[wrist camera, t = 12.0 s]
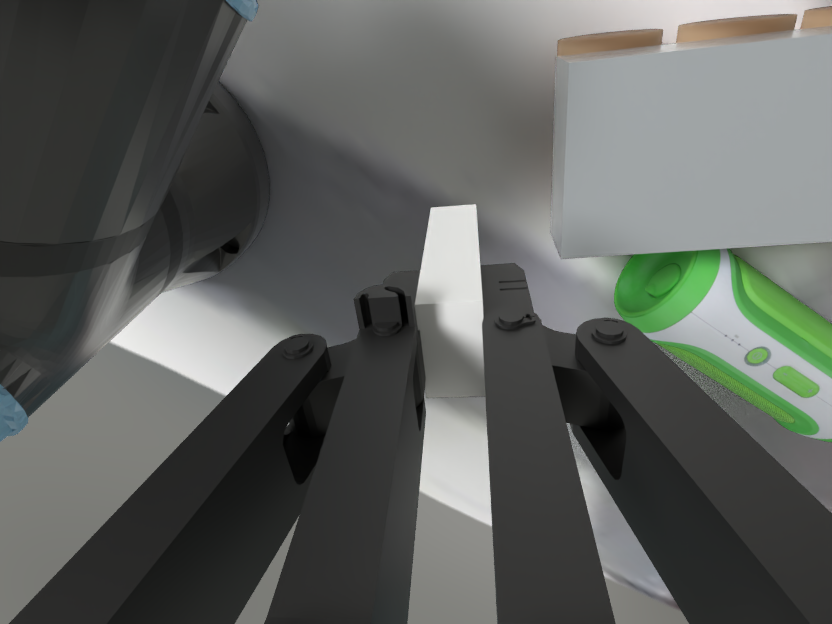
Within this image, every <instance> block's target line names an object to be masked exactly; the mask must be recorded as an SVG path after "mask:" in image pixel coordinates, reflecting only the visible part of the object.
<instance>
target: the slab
mask: <svg viewBox="0 0 832 624" xmlns="http://www.w3.org/2000/svg"><path fill="white" fill-rule="evenodd" d="M550 233H551V236H552V238H553V241H554V243H555V246H556V248H557V251H558V253H559V256H560V258H561V259H569V258H584V257H600V256H616V255H632V254H648V253H663V252H679V251H695V250H711V249H726V248H742V247H758V246H774V245H790V244H805V243H821V242H832V26H824V27H815V28H806V29H797V30H788V31H779V32H770V33H762V34H753V35H744V36H735V37H726V38H717V39H708V40H699V41H690V42H681V43H672V44H664V45H655V46H646V47H637V48H628V49H619V50H610V51H601V52H592V53H583V54H574V55H566V56H557V57H556V65H555V98H554V131H553V164H552V198H551V231H550Z"/></svg>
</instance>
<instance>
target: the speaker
mask: <svg viewBox="0 0 832 624" xmlns="http://www.w3.org/2000/svg"><path fill="white" fill-rule="evenodd" d="M614 303H615V307H616V310H617V311H618V313H619V314H620V315H621V317H622V318H623V319H624V320H625V321H626V322H628V323H630V324H632V325H633V326H635V327H636V328H638V329H639V330H640V331H641V332H642V333H643V334H644V335H645V336H647V337H648V338H649V339H650V340H651V341H652V342H655V343H657V344H658V345H660V346H661V347H663V348H664V349H666V350H668V351H669V352H671V353H672V354H674V355H675V356H677V357H678V358H680V359H682V360H683V361H685V362H686V363H688V364H689V365H691V366H693V367H694V368H696V369H697V370H699V371H700V372H702V373H704V374H705V375H707V376H708V377H710V378H712V379H713V380H715V381H717V382H718V383H720V384H721V385H723V386H724V387H726V388H728V389H729V390H731V391H732V392H734V393H735V394H737V395H739V396H740V397H742V398H743V399H745V400H746V401H748V402H750V403H751V404H753V405H754V406H756V407H758V408H759V409H761V410H762V411H764V412H765V413H767V414H769V415H770V416H772V417H773V418H774V419H775V420H776V421H777V422H778V423H779V424H780V425H782V426H783V427H785V428H786V429H788V430H790V431H793V432H795V433H798V434H800V435H803V436H806V437H810V438H814V439H818V440H822V441H827V442H832V324H831V323H830V322H828V321H827V320H825V319H824V318H823V317H821V316H820V315H818V314H817V313H816V312H814V311H813V310H811V309H810V308H808V307H807V306H806V305H804V304H803V303H801V302H800V301H798V300H797V299H796V298H794V297H793V296H792V295H790V294H789V293H788V292H786V291H785V290H783V289H782V288H781V287H779V286H778V285H776V284H775V283H774V282H772V281H771V280H770V279H768V278H767V277H765V276H764V275H763V274H761V273H760V272H759V271H757V270H756V269H754V268H753V267H752V266H750V265H749V264H748V263H746V262H745V261H744V260H742V259H741V258H739V257H738V256H737V255H734V254H732V252H731V250H730V249H729V248H726V249H711V250H695V251H679V252H663V253H648V254H634V255H633V256H632V257H631V259H630V260H629V261H628V263H627V264H626V266H625V267H624V269H623V271H622V272H621V274H620V277H619V279H618V281H617V284H616V287H615V293H614Z"/></svg>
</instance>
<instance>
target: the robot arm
mask: <svg viewBox="0 0 832 624" xmlns="http://www.w3.org/2000/svg"><path fill="white" fill-rule="evenodd" d="M257 10H258V3H257V0H0V442H1V441H2V440H3V439H5V438H6V437H7V436H14V435H16V434H18V433H19V432H20V431H21V430H22V429H23V428H24V427H25V426H26V424H27V423H28V417H29V416H30V415H32V413H34V412H35V411H36V410H37V409H38V408H39V407H40V406H41V405H42V404H43V403H44V402H45V401H46V400H48V399H49V398H50V397H51V396H52V395H53V394H54V393H55V392H56V391H57V390H58V389H59V388H60V387H61V386H63V385H64V384H65V383H66V382H67V381H68V380H69V379H70V378H71V377H72V376H73V375H74V374H75V373H76V372H78V371H79V370H80V369H81V367H83V366H84V365H85V364H86V363H87V362H88V361H89V360H90V359H91V358H92V357H94V355H96V354H97V353H98V352H99V351H100V350H101V349H102V348H103V347H104V346H105V345H106V344H107V343H108V342H110V341H111V340H112V339H113V338H114V337H115V336H116V335H117V334H118V333H119V332H120V331H121V330H122V329H123V328H124V327H126V326H127V325H128V324H129V323H130V322H131V321H132V320H133V319H134V318H135V317H136V316H137V315H138V314H139V313H140V312H142V311H143V310H144V309H145V308H146V307H147V306H148V305H149V304H150V303H151V302H152V301H153V300H154V299H155V298H156V297H157V296H158V295H159V294H161V293H162V292H166V291H169V290H172V289H176V288H179V287H182V286H185V285H189V284H192V283H195V282H198V281H202V280H205V279H207V278H210V277H212V276H214V275H216V274H218V273H220V272H221V271H223V270H225V269H226V268H228V267H229V266H230V265H232V264H233V263H234V262H235V261H236V260H237V259H238V258H239V257H240V256H241V255H242V254H243V253H244V252H245V251H246V249H247V248H248V247H249V246H250V245H251V244H252V243H253V241H254V240H255V238H256V237H257V235H258V234H259V232H260V230H261V228H262V226H263V223H264V220H265V218H266V214H267V210H268V204H269V194H270V184H269V174H268V168H267V163H266V159H265V155H264V152H263V149H262V146H261V143H260V141H259V139H258V136H257V134H256V132H255V130H254V128H253V126H252V124H251V123H250V121H249V119H248V118H247V116H246V114H245V113H244V111H243V110H242V109H241V107H240V106H239V105H238V103H237V102H236V101H235V99H234V98H233V97H232V96H231V95H230V94H229V92H228V91H227V90H226V89H225V88H224V87H223V86H222V85H221V84H220V83H219V82H218V80H219V78H220V76H221V74H222V72H223V70H224V68H225V66H226V63H227V61H228V59H229V57H230V55H231V53H232V51H233V49H234V47H235V44H236V42H237V40H238V38H239V36H240V34H241V32H242V30H243V27H244V25H245V23H246V21H247V20H249V21H253V19H254V17H255V16H256V13H257ZM354 303H355V308H356V313H357V319H358V324H359V329H360V330H359V333H358V336H357V339H355V340H353V341H351V342H348V343H345V344H341V345H337V346H333V347H328V348H327V344H326V340H325V339H323V338H322V337H321V336H318V335H314V334H299V335H294V336H291V337H289V338H287V339H285V340H282V341H281V342H279V343H278V344H277V345H275V346H274V347H273V348H272V349H271V350H270V351H269V352H268V353H267V354H266V355H265V356H264V357H263V358H262V359H261V360H260V362H259V363H258V364H257V365H256V366H255V367H254V368H253V369H252V370H251V371H250V372H249V373H248V374H247V375H246V376H245V377H244V378H243V379H242V380H241V381H240V382H239V383H238V385H237V386H236V387H235V388H234V389H233V390H232V391H231V392H230V393H229V394H228V395H227V396H226V397H225V398H224V399H223V400H222V401H221V402H220V403H219V404H218V405H217V406H216V408H215V409H214V410H213V411H212V412H211V413H210V414H209V415H208V416H207V417H206V418H205V419H204V420H203V421H202V422H201V423H200V424H199V425H198V426H197V427H196V429H194V431H193V432H192V433H191V434H190V435H189V436H188V437H187V438H186V439H185V440H184V441H183V442H182V443H181V444H180V445H179V446H178V447H177V448H176V449H175V450H174V452H173V453H172V454H171V455H170V456H169V457H168V458H167V459H166V460H165V461H164V462H163V463H162V464H161V465H160V466H159V467H158V468H157V469H156V470H155V471H154V472H153V473H152V474H151V476H150V477H149V478H148V479H147V480H146V481H145V482H144V483H143V484H142V485H141V486H140V487H139V488H138V489H137V490H136V491H135V492H134V493H133V494H132V495H131V496H130V498H129V499H128V500H127V501H126V502H125V503H124V504H123V505H122V506H121V507H120V508H119V509H118V510H117V511H116V512H115V513H114V514H113V515H112V516H111V518H109V519H108V521H107V522H106V523H105V524H104V525H103V526H102V527H101V528H100V529H99V530H98V531H97V532H96V533H95V534H94V535H93V536H92V537H91V538H90V540H88V541H87V542H86V544H85V545H84V546H83V547H82V548H81V549H80V550H79V551H78V552H77V553H76V554H75V555H74V556H73V557H72V558H71V559H70V560H69V561H68V562H67V563H66V564H65V565H64V567H63V568H62V569H61V570H60V571H59V572H58V573H57V574H56V575H55V576H54V577H53V578H52V579H51V580H50V581H49V582H48V583H47V584H46V585H45V587H44V588H42V590H41V591H40V592H39V593H38V594H37V595H36V596H35V597H34V598H33V599H32V600H31V601H30V602H29V603H28V604H27V605H26V606H25V607H24V608H23V609H22V611H20V612H19V614H18V615H17V616H16V617H15V618H14V619H13V620H12V621H11V622H10V623H9V624H235V622H236V620H237V619H238V617H239V615H240V613H241V612H242V610H243V609H244V607H245V605H246V603H247V602H248V600H249V598H250V597H251V595H252V593H253V592H254V590H255V588H256V587H257V585H258V583H259V582H260V580H261V578H262V577H263V575H264V573H265V572H266V570H267V568H268V567H269V565H270V563H271V561H272V560H273V558H274V557H275V555H276V553H277V552H278V550H279V548H280V546H281V545H282V543H283V541H284V540H285V538H286V536H287V535H288V533H289V531H290V530H291V528H292V526H293V524H294V523H295V521H296V520H297V518H298V516H299V515H300V516H299V519H298V522H297V525H296V529H295V531H294V535H293V538H292V541H291V544H290V547H289V550H288V553H287V556H286V560H285V563H284V566H283V569H282V572H281V575H280V578H279V581H278V584H277V588H276V590H275V594H274V597H273V600H272V603H271V606H270V609H269V612H268V615H267V618H266V620H265V623H264V624H407V621H408V609H409V598H410V587H411V574H412V564H413V553H414V541H415V530H416V519H417V508H418V496H419V485H420V474H421V462H422V451H423V440H424V428H425V417H426V409H425V401H424V390H426V398H452V397H486V416H487V435H488V454H489V473H490V492H491V511H492V530H493V548H494V566H495V587H496V604H497V605H496V606H497V624H615V619H614V615H613V611H612V608H611V603H610V599H609V595H608V591H607V587H606V583H605V579H604V575H603V571H602V567H601V563H600V559H599V555H598V550H597V546H596V542H595V538H594V534H593V530H592V526H591V522H590V518H589V514H588V510H587V506H586V502H585V498H584V494H583V490H582V485H581V481H580V477H579V473H578V469H577V465H576V461H575V457H574V453H573V449H572V445H571V441H570V437H569V433H568V429H567V425H566V423H570V426H571V429H572V432H573V434H574V436H575V437H576V439H577V441H578V442H579V444H580V446H581V447H582V449H583V451H584V452H585V454H586V455H587V457H588V459H589V460H590V462H591V464H592V465H593V467H594V469H595V470H596V472H597V473H598V475H599V477H600V478H601V480H602V482H603V483H604V485H605V487H606V488H607V490H608V491H609V493H610V495H611V496H612V498H613V500H614V501H615V503H616V505H617V506H618V508H619V509H620V511H621V513H622V514H623V516H624V518H625V519H626V521H627V523H628V524H629V526H630V527H631V529H632V531H633V532H634V534H635V536H636V537H637V539H638V541H639V542H640V544H641V545H642V547H643V549H644V550H645V552H646V554H647V555H648V557H649V559H650V560H651V562H652V564H653V565H654V567H655V568H656V570H657V572H658V573H659V575H660V577H661V578H662V580H663V582H664V583H665V585H666V586H667V588H668V590H669V591H670V593H671V595H672V596H673V598H674V600H675V601H676V603H677V604H678V606H679V608H680V609H681V611H682V613H683V614H684V616H685V617H686V619H687V621H688V622H689V624H832V513H831V512H830V511H828V510H827V509H826V508H825V507H824V506H823V505H822V504H821V503H820V502H819V501H818V500H817V499H816V498H815V497H814V496H813V495H812V494H811V493H810V492H809V491H808V490H807V489H805V488H804V487H803V486H802V485H801V484H800V483H799V482H798V481H797V480H796V479H795V478H794V477H793V476H792V475H791V474H790V473H789V472H788V471H787V470H786V469H785V468H784V467H782V466H781V465H780V464H779V463H778V462H777V461H776V460H775V459H774V458H773V457H772V456H771V455H770V454H769V453H768V452H767V451H766V450H765V449H764V448H763V447H762V446H761V445H759V444H758V443H757V442H756V441H755V440H754V439H753V438H752V437H751V436H750V435H749V434H748V433H747V432H746V431H745V430H744V429H743V428H742V427H741V426H740V425H739V424H737V423H736V422H735V421H734V420H733V419H732V418H731V417H730V416H729V415H728V414H727V413H726V412H725V411H724V410H723V409H722V408H721V407H720V406H719V405H718V404H717V403H716V402H714V401H713V400H712V399H711V398H710V397H709V396H708V395H707V394H706V393H705V392H704V391H703V390H702V389H701V388H700V387H699V386H698V385H697V384H696V383H695V382H694V381H693V380H691V379H690V378H689V377H688V376H687V375H686V374H685V373H684V372H683V371H682V370H681V369H680V368H679V367H678V366H677V365H676V364H675V363H674V362H673V361H672V360H671V359H670V358H668V357H667V356H666V355H665V354H664V353H663V352H662V351H661V350H660V349H659V348H658V347H657V346H656V345H655V344H654V343H653V342H652V341H651V340H650V339H649V338H648V337H647V336H645V335H644V334H643V333H642V332H641V331H640V330H639V329H638V328H636V327H635V326H633V325H632V324H630V323H628V322H625V321H622V320H618V319H613V318H612V319H611V318H599V319H592V320H589V321H586V322H584V323H583V324H581V325H580V326H579V327H578V329H577V332H576V334H570V333H563V332H558V331H554V330H552V329H549V328H547V327H545V326H543V325H542V323H541V320H540V318H539V317H538V315H537V314H535V313H534V311H533V307H532V302H531V298H530V294H529V290H528V285H527V282H526V277H525V273H524V270H522V269H521V268H520V267H519V266H518V265H516V264H515V263H511V264H495V265H480V254H479V239H478V224H477V209H476V204H471V205H458V206H445V207H433V208H431V210H430V216H429V222H428V228H427V234H426V240H425V246H424V252H423V258H422V264H421V270H419V271H403V272H393V273H392V274H391V275H389V276H388V277H387V278H386V279H385V280H384V282H383V284H382V285H376V286H372V287H369V288H367V289H364V290H363V291H361V292H360V293H358V294H357V295H356V297H355V298H354ZM288 423H289V425H288ZM287 425H288V426H287Z"/></svg>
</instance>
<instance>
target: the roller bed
mask: <svg viewBox="0 0 832 624" xmlns="http://www.w3.org/2000/svg"><path fill="white" fill-rule="evenodd" d="M796 19H797V15H796V14H778V15H761V16H748V17H737V18H727V19H718V20H709V21H701V22H694V23H688V24H683V25H679V26H678V33H677V40H676V43H681V42H690V41H699V40H708V39H717V38H726V37H735V36H744V35H753V34H762V33H770V32H779V31H788V30H794V27H795V23H796ZM824 26H832V6H829V7H822V8H815V9H809V10H805V12H804V16H803V20H802V24H801V28H800V29H806V28H815V27H824ZM662 35H663V30H662V29H643V30H628V31H617V32H607V33H598V34H590V35H582V36H575V37H569V38H564V39H560V40H558V47H557V56H566V55H574V54H583V53H592V52H601V51H610V50H619V49H628V48H637V47H646V46H655V45H661V43H662Z"/></svg>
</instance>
